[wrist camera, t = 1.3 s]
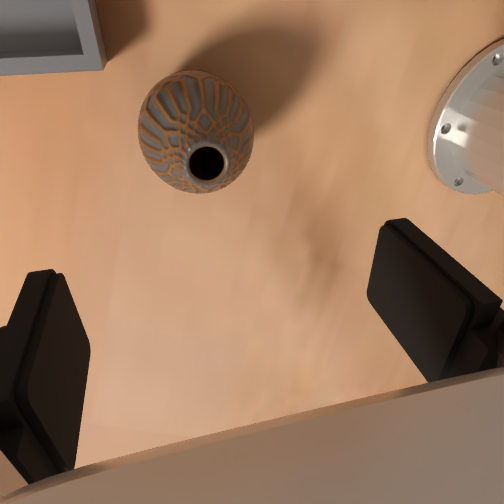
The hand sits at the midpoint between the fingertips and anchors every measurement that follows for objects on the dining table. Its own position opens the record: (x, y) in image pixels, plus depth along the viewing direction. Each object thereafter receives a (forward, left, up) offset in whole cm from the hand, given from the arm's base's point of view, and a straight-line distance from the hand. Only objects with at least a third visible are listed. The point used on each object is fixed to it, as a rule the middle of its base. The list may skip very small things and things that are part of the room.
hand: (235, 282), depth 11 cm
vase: (0, 0, -19) cm, 19 cm away
